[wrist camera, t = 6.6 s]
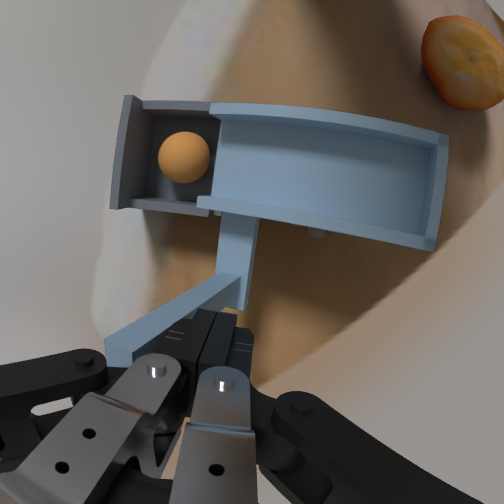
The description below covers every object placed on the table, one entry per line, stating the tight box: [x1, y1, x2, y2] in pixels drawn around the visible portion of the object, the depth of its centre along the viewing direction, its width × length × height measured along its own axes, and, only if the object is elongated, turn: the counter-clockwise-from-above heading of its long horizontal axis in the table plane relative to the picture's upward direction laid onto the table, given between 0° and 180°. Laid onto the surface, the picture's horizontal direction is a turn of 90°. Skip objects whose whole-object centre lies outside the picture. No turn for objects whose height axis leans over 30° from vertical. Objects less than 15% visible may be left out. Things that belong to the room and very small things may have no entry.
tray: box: [110, 95, 222, 217], centre depth 18 cm, size 7×7×5 cm
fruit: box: [421, 15, 504, 110], centre depth 15 cm, size 8×8×8 cm
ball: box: [158, 132, 210, 183], centre depth 19 cm, size 4×4×4 cm
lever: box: [104, 103, 450, 367], centre depth 11 cm, size 11×12×10 cm
